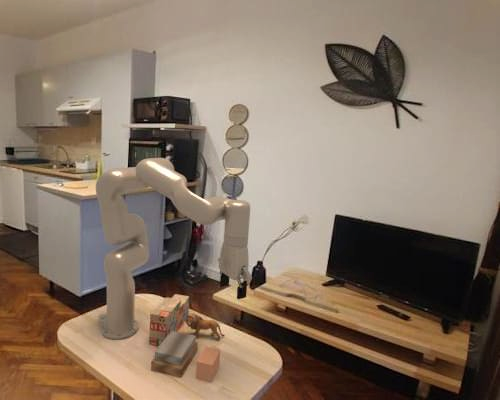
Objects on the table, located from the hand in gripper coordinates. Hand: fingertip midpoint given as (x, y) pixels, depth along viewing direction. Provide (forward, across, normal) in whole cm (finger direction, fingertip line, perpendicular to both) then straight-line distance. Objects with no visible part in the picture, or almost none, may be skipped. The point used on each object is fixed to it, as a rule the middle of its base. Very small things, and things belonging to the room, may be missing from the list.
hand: (232, 291), depth 107 cm
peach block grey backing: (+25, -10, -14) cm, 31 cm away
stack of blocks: (+25, -27, -9) cm, 38 cm away
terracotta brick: (+25, 0, -8) cm, 27 cm away
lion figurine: (+25, -17, 0) cm, 30 cm away
